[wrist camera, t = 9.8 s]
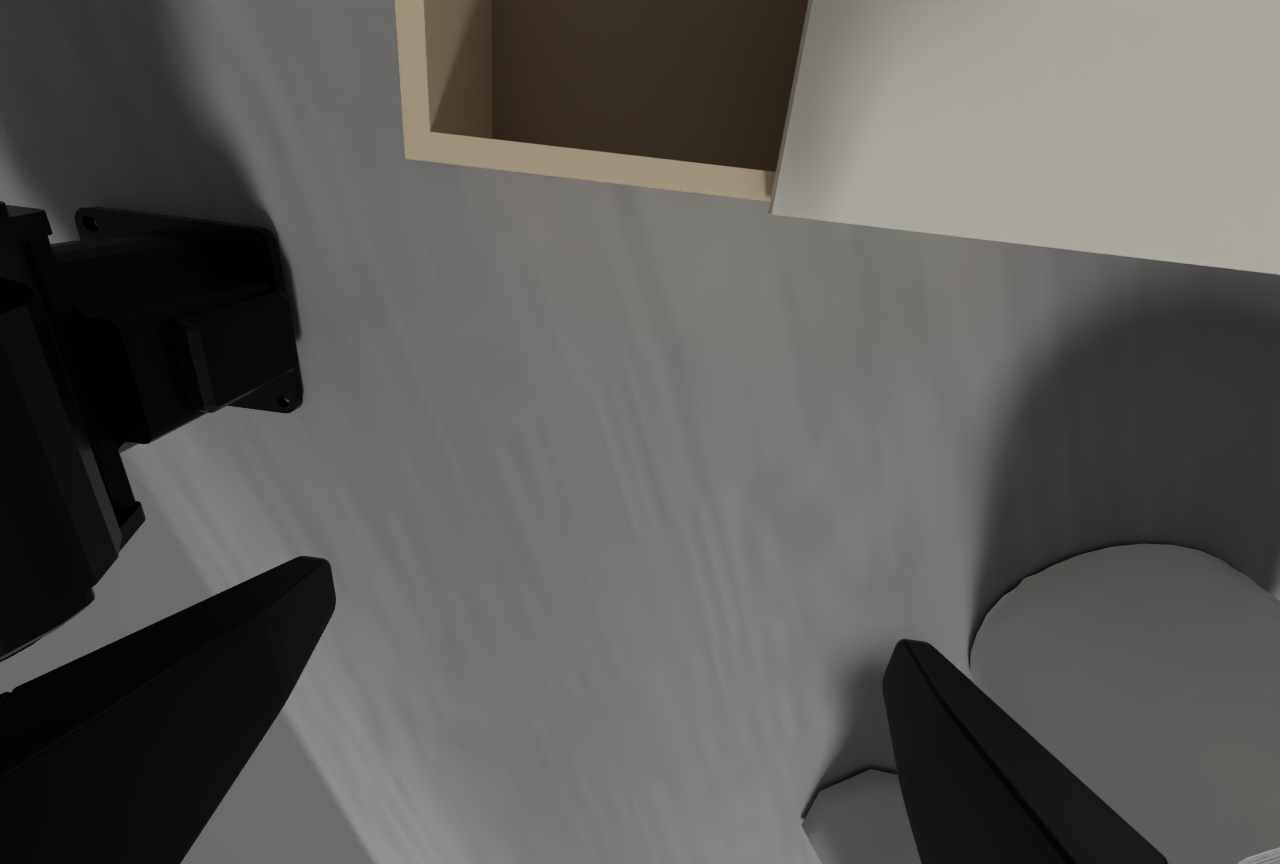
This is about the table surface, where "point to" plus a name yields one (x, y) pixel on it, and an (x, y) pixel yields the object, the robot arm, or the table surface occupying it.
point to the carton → (603, 88)
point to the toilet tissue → (1150, 692)
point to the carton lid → (1043, 124)
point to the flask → (862, 822)
